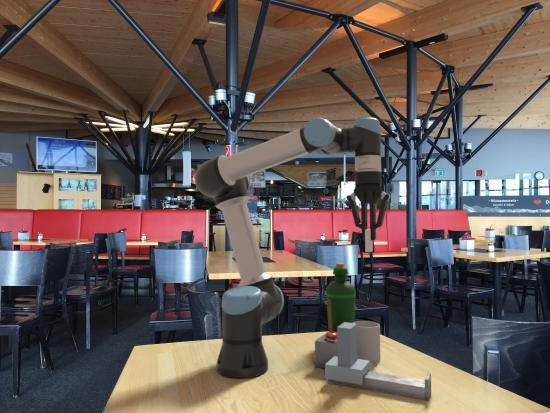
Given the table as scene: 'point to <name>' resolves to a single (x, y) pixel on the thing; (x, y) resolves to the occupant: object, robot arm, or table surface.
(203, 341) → the table surface
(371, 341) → the mug
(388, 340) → the table surface
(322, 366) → the grey cube box
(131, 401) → the table surface
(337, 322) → the bottle
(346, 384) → the rail
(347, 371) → the carriage
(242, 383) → the table surface
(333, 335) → the plunger
